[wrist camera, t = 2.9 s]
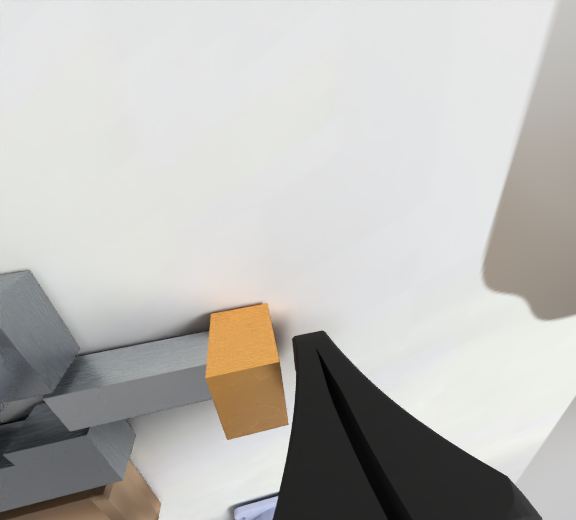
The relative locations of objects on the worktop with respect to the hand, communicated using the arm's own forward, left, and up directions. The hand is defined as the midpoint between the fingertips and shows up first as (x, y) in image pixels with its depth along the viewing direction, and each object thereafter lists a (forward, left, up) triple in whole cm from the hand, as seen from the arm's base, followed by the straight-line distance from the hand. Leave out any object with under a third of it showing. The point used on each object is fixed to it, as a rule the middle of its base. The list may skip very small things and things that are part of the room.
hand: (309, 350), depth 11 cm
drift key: (0, +5, -1) cm, 6 cm away
